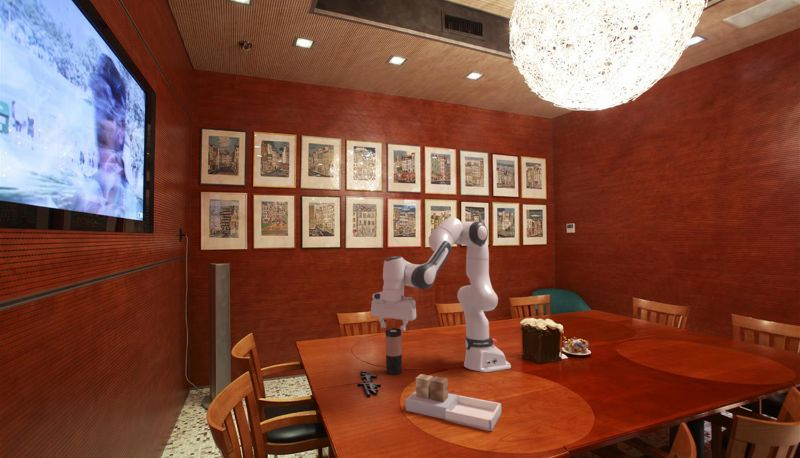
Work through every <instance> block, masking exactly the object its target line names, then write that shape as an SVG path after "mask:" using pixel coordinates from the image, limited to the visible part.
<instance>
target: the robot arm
mask: <svg viewBox="0 0 800 458" xmlns="http://www.w3.org/2000/svg"><path fill="white" fill-rule="evenodd" d="M488 235H489V231H488V228H487V226H486V224H485V223H483V222H480V221H463V222H461V220H460V219H459V218H456V217H454V216H451V217H448V218H446V219H445V220H443V221H442V222H441V223H439V225H437V226H436V227H435V229H434V230H432V231H431V233H430V235H429V237H428V246H429V247H430V249H431V250H432V251H433V253H432V255H431V256H430V258H429V259H428V260H427V262H425V263H422V264H418V263H416V264H415V263H412V262H409V261H407V260H405V258H403V257H402V256H400V255H395V256H388V257H386V258H385V260H384V262H383V269H382V271H383V272H382V279H383V286H382V290H381V291H379V292H378V291H377V292H376V293H373V294H372V296H371V297H372V300H371V307H370V313H371V315H372V317H378V320H379V323H380V328H382V329H385V328H386V327H387V322H385V321H384V319H386V318H387V319H395V320H401V321H402V323H403V324H402V325H400V326H399V327H400V328H399V329H400V330H401V332H405V331H406V330H407V329H406V328H407V327H406V326H407V325H408V323H409V322H411V321H415V320H416V319H417V309H416V308H417V307H416V305H417V302H416V300H415V298H413V297H412V296H405V286H407V287H412V288H417V289H419V290H424V291H425V290H428V289H430V288H431V287H433V285H434V283H435V282H436V278H437V276H438V274H439V272H440V270H441V268H443V266H444V264H445V263H446V261H447V260H448V258H449V256H450V255H451V252H452V247H453V246H454V245H463V246H466V258H465V260H466V261H465V263H466V264H465V273H466V276H467V278H468V279H469V284H470V285H464V286H461V287H460V288H459V289H458V291H457V294H456V295H457V296H456V297H457V300H458V302H459V303H460V305H461V308H462V311H463V312H462V313H463V315H464V318H465V331H466V333H465V335H466V336H465V342H464V343H465V348H466V351H465V358H464V363H463V366H464V367H465V368H466V369H468V370H471V371H475V372H476V371H477V372H481V373H490V372H498V371H503V370H504V371H505V370H509V369H511V368H512V365H511V363H510V362H509V361H508V360H506V355H505V354H504V352H503V351H502V350H501V349H499V347H497V346H496V345H495V344H496V343H497V339H495V338H492V337H491V336H490V323H489V319H488V318H487V317H486V314H485V312H491V311H493V310H495V308H497V306H498V303H499V297H498V294H497V293H496V292H495V290H494V289H493V285H492V283H491V279H490V273H489V272H490V264H489V263H490V252H489V245H488V238H489V237H488Z"/></svg>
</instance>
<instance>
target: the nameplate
mask: <svg viewBox="0 0 800 458" xmlns="http://www.w3.org/2000/svg"><path fill="white" fill-rule="evenodd" d="M360 377H361V380H362V381H363V382H359V383H357V387H358V388H361V387H362V388H363V390H364V392H365V393H364V394H365V395H366V398H367V399H368V398H371V395H373V396H376V397H377V396H378V393H379V389H378V388H381V387H382V385H381V383H378V382H377V383H376V382H373V379H374V380H377V378H378V375H376V374H374V373H373V372H369V371H366V370H362V371H360Z"/></svg>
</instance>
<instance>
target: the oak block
mask: <svg viewBox="0 0 800 458" xmlns="http://www.w3.org/2000/svg"><path fill="white" fill-rule="evenodd" d="M433 378H434V376H433V375H428V374H422V373H421V374H419V375H418V376H416V377H415V391H416V397H419V398H424V399H429V398H430V397H431V383H430V381H431V380H432V379H433Z"/></svg>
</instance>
